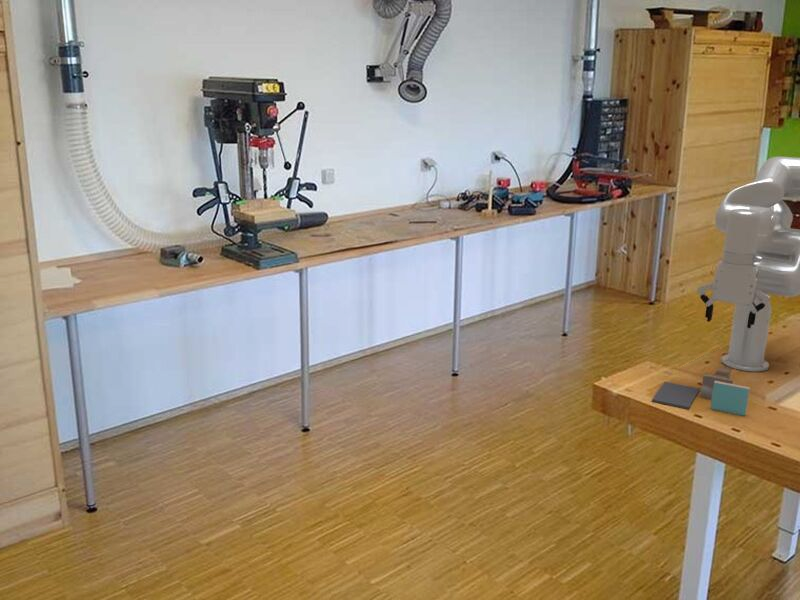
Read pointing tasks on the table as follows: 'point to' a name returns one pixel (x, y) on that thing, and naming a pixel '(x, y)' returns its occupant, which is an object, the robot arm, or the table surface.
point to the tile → (730, 398)
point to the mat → (676, 395)
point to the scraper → (708, 381)
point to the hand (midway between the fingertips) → (728, 323)
